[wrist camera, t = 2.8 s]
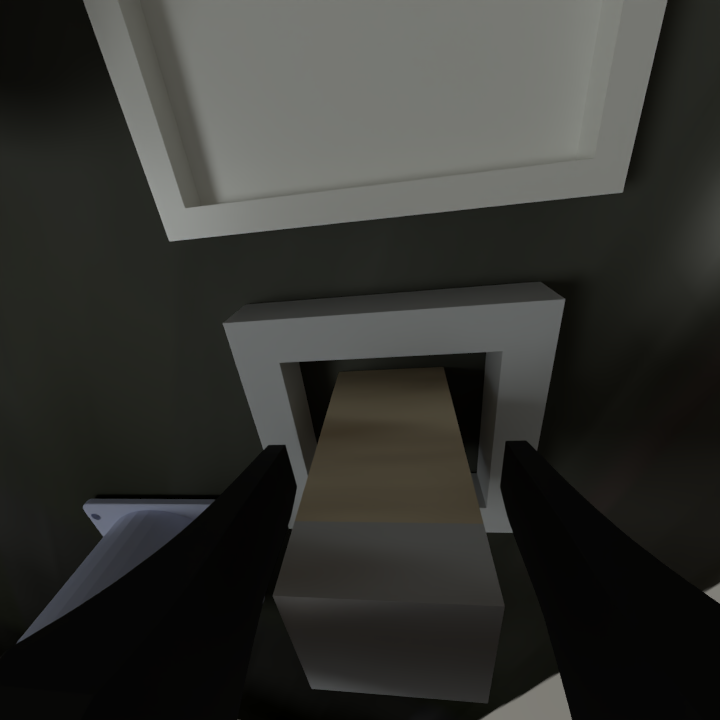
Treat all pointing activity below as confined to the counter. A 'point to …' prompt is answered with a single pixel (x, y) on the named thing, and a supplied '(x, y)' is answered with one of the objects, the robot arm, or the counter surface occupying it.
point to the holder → (404, 338)
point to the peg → (392, 548)
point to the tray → (374, 104)
